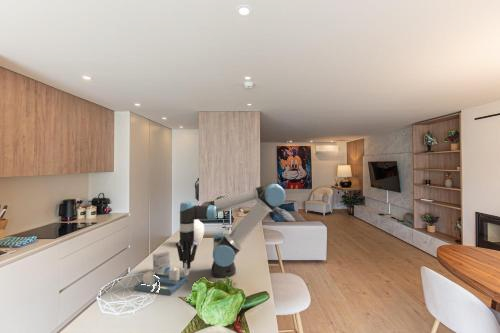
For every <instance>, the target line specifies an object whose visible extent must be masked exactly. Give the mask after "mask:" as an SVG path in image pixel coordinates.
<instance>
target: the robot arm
mask: <svg viewBox="0 0 500 333" xmlns="http://www.w3.org/2000/svg"><path fill="white" fill-rule="evenodd" d="M285 200H286V191H285V189H284V188H283V187H282V186H281V185H279V184H278V183H277V184H276V183H272V182H268V183H265V184H262V185H260V186H257V187H254V189H252V190H248V191H244V192H241V193H237V194H234V195H229V196H226V197H222V198H219V199H214V200H210V201H205V202H202V204H201V205H196V204H195V202H194V201H182V202H181V203H180V204H179V241H177V242H176V243H175V244H174V245H175V247H176V249H177V253H178V259H179V262H182V268H183V276H188V275H189V274H190V269H191V267H192V266H191V265H192V263H193V262H194V261H195V258H196V252H197V249H198V246H199V245H198V244H196V243H195V242H194V231H193V230H194V220H195V219H196V220H197V219H198V220H215V219H216V218H217V213H221V212H224V211H228V210H232V209H235V208H239V207H242V206H246V205H251V204H254V205H253V206H252V207H251V209H250V210H248V212H247V213H245V215H244V216H243V218H242V219H241V220H240V222H238V224H236V225H235V227H234V228H233V229H232V231H231V232H230V233H217V234H214V235H213V239H212V240H213V248H212V249H213V250H212V259H213V261H212V265H211V268H210V275H211V276H212V277H213V278H220V279H221V278H225V279H226V278H229V277H232V276H234V275H235V274H237V267H236V263H235V262H234V261H235V259H236V256H237V255H238V253H239V252H240V251H241V249H242V248H241V246H242V244H243V243H244V242H245V241H246V239H247V238H249V236H250V235H251V233H252V232H253V231H254V230H256V229H255V228H257V226H258V225H260V223H261V221H263V220H264V218H265V217H266V216H267V215H268V213H271V212H272V213H273V212H274V211H275V209H276V208H277V207H279V206H281V205H283V203H284V202H285ZM192 245H193V246H192ZM226 276H228V277H226Z"/></svg>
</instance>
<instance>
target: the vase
mask: <svg viewBox="0 0 500 333" xmlns="http://www.w3.org/2000/svg"><path fill="white" fill-rule="evenodd" d="M193 231H194V242H195V243H196V244H198V246H200V245H201V242H202V240H203V237H204V235H205V225H204V223H203V222H202V221H200V219H197V220H196V219H195V220H194V230H193ZM192 247H193V245H192Z"/></svg>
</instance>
